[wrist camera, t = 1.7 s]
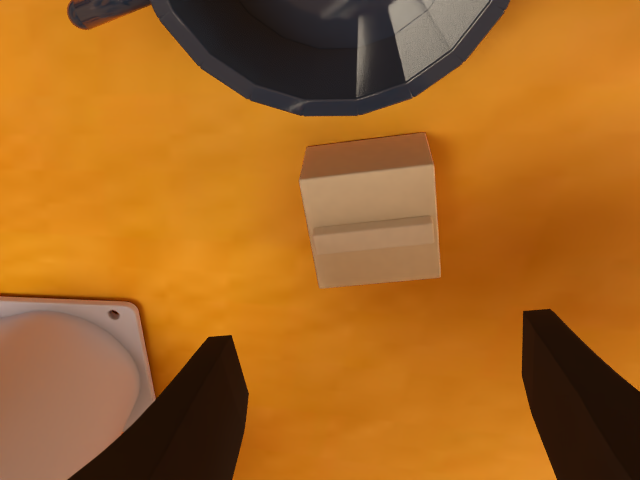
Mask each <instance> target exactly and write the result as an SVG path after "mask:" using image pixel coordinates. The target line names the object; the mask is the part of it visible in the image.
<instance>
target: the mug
mask: <svg viewBox="0 0 640 480" xmlns="http://www.w3.org/2000/svg"><path fill="white" fill-rule="evenodd" d="M509 2H510V0H71V1H70V3H69V4H68V7H67V15H68V17H69V20H70V21H71V23H72V24H73V25H75V26H76V27H78V28H80V29H84V30H89V29H92V28H95V27H97V26H100V25H102V24H105V23H107V22H110V21H112V20H115V19H117V18H120V17H122V16H125V15H127V14H130V13H132V12H135V11H137V10H139V9H142V8H144V7H147V6H149V5H152V7H153V9H154V11H155V13H156V15H157V17H158V18H160V19H159V20H160V22H161V23H162V24H163V25H164V26H165V27H166V29H167V30H168V31H169V32H170V33H171V34H172V36H173V37H174V38H175V39H176V40H177V42H178V43H179V44H180V45H181V46H182V47H183V49H184V50H185V51H186V52H187V53H188V54H189V56H190V57H191V58H192V59H193V60H194V62H195V63H196V64H197V65H198V66H200V68H201V69H203V70H204V71H206V72H207V73H209V74H210V75H212V76H213V77H215V78H216V79H218V80H219V81H221V82H222V83H224V84H225V85H227V86H228V87H230V88H231V89H233V90H234V91H236V92H237V93H239V94H240V95H242V96H243V97H245V98H246V99H250V100H251V101H253V102H257V103H260V104H263V105H267V106H270V107H273V108H277V109H280V110H283V111H287V112H290V113H293V114H297V115H300V116H357V115H358V114H359V115H363V114H366V113H369V112H372V111H375V110H378V109H381V108H384V107H387V106H391V105H394V104H397V103H400V102H403V101H406V100H409V99H412V98H413V97H416V96H417V95H419V94H420V93H421V92H423V91H424V90H426V89H427V88H429V87H430V86H431V85H433V84H434V83H436V82H437V81H439V80H440V79H442V78H443V77H444V76H446V75H447V74H449V73H450V72H452V71H453V70H454V69H456V68H457V67H459V66H460V65H462V63H463V62H464V61H466V60H467V58H468V57H469V56H470V55H471V53H472V52H473V51H474V50H475V48H476V47H477V46H478V45H479V44H480V42H481V41H482V40H483V39H484V37H485V36H486V35H487V34H488V32H489V31H490V30H491V29H492V27H493V26H494V25H495V24H496V22H497V21H498V20H499V19H500V17H501V16H502V15H503V14H504V12H505V11H504V10H506V9H507V7H508V5H509Z"/></svg>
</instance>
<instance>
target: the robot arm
mask: <svg viewBox="0 0 640 480" xmlns="http://www.w3.org/2000/svg"><path fill="white" fill-rule="evenodd" d="M112 310H114V311H117V312H118V313H119V314H115V313H114V312H112ZM522 378H523V382H524V386H525V390H526V394H527V398H528V402H529V406H530V409H531V413H532V416H533V419H534V421H535V424H536V427H537V429H538V432H539V434H540V437H541V440H542V442H543V445H544V447H545V450H546V452H547V455H548V457H549V460H550V462H551V465H552V468H553V470H554V473H555V475H556V478H557V480H640V392H639V391H638V390H637V389H636V388H634V387H633V386H632V385H631V384H629V383H628V382H627V381H626V380H625V379H623V378H622V377H621V376H620V375H619V374H618V373H616V372H615V371H614V370H613V369H612V368H611V367H610V366H609V365H607V364H606V363H605V362H604V361H603V360H602V359H601V358H600V357H599V356H597V355H596V354H595V353H594V352H593V351H592V350H591V349H590V348H589V347H588V346H587V345H586V344H585V343H584V342H583V341H582V340H581V339H580V338H579V337H578V336H577V335H576V334H575V333H574V332H573V331H572V330H571V329H570V328H569V327H568V326H567V325H566V324H565V323H564V322H563V321H562V320H561V319H560V318H559V317H558V316H557V315H556V314H555V313H554V312H553V311H552V310H551V309H544V310H532V311H523V347H522ZM248 396H249V393H248V390H247V386H246V383H245V380H244V376H243V373H242V369H241V366H240V363H239V359H238V356H237V352H236V349H235V346H234V342H233V339H232V335H227V336H215V337H208V338H207V339H206V341H205V342H204V343H203V344H202V345H201V347H200V348H199V349H198V350H197V351H196V353H195V354H194V355H193V356H192V357H191V359H190V360H189V361H188V362H187V364H186V365H185V366H184V367H183V368H182V370H181V371H180V372H179V373H178V374H177V376H176V377H175V378H174V379H173V380H172V381H171V383H170V384H169V385H168V386H167V387H166V388H165V390H164V391H163V392H162V393H161V394H160V395H159V397H158V398H157V399H156V398H155V393H154V388H153V383H152V377H151V372H150V367H149V362H148V357H147V352H146V346H145V341H144V336H143V331H142V326H141V321H140V315H139V311H138V308H137V307H136V306H135V305H134V304H132V303H130V302H126V301H103V300H78V299H53V298H28V297H4V296H0V480H232V478H233V474H234V470H235V466H236V462H237V458H238V454H239V450H240V446H241V442H242V438H243V434H244V429H245V422H246V414H247V405H248ZM122 432H124V433H123V434H122V435H121V433H122ZM120 435H121V436H120Z"/></svg>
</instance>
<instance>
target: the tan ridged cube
mask: <svg viewBox="0 0 640 480" xmlns="http://www.w3.org/2000/svg"><path fill="white" fill-rule="evenodd" d="M299 184H300V190H301V195H302V200H303V205H304V211H305V216H306V221H307V227H308V232H309V237H310V243H311V248H312V253H313V258H314V264H315V269H316V274H317V280H318V285H319V288H321V289H322V288H333V287H343V286H354V285H365V284H376V283H387V282H398V281H409V280H420V279H431V278H440V277H441V266H440V250H439V234H438V218H437V202H436V185H435V169H434V163H433V159H432V155H431V151H430V148H429V144H428V140H427V136H426V133H424V132H423V133H415V134H407V135H399V136H391V137H383V138H375V139H367V140H359V141H351V142H343V143H335V144H327V145H319V146H311V147H307V148H306V152H305V156H304V161H303V165H302V170H301V174H300V178H299Z"/></svg>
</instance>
